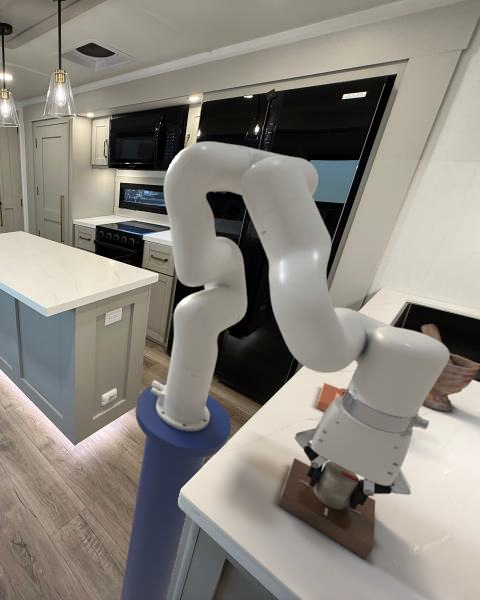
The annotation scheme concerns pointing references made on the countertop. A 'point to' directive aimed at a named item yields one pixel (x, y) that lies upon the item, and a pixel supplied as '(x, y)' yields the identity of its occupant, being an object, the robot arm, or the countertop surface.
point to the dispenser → (328, 396)
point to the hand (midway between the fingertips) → (332, 490)
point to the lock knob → (335, 485)
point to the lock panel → (329, 512)
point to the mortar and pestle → (448, 376)
